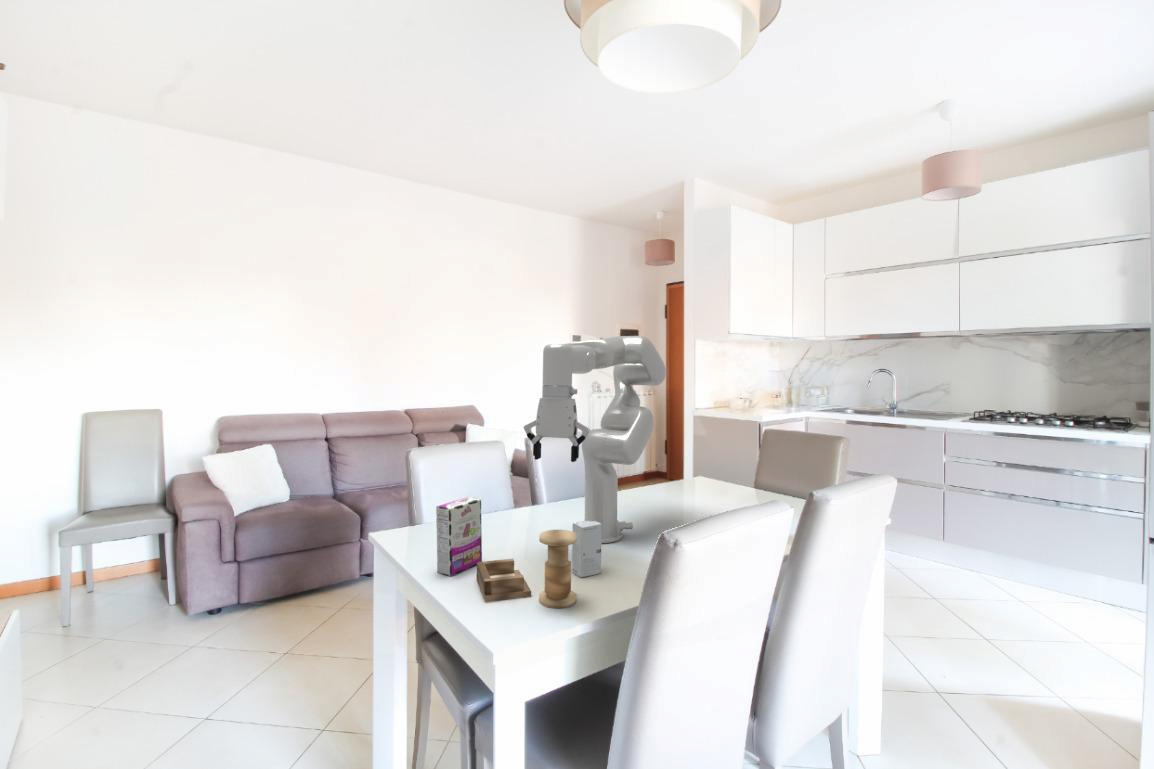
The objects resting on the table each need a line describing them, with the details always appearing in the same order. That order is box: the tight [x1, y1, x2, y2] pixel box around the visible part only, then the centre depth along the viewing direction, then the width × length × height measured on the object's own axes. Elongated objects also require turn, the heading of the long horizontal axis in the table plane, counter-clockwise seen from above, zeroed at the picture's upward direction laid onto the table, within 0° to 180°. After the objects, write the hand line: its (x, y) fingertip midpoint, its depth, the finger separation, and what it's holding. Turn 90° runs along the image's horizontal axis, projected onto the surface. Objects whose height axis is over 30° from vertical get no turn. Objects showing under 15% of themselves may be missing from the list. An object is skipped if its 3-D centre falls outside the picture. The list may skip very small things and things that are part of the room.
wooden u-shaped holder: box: [476, 558, 532, 603], centre depth 124 cm, size 10×13×4 cm
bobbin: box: [538, 529, 577, 609], centre depth 118 cm, size 8×8×14 cm
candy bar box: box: [435, 496, 483, 577], centre depth 136 cm, size 11×5×16 cm, turn 148°
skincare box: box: [571, 520, 602, 578], centre depth 133 cm, size 6×4×12 cm
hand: (555, 460), depth 141 cm, fingers open, 9 cm apart
